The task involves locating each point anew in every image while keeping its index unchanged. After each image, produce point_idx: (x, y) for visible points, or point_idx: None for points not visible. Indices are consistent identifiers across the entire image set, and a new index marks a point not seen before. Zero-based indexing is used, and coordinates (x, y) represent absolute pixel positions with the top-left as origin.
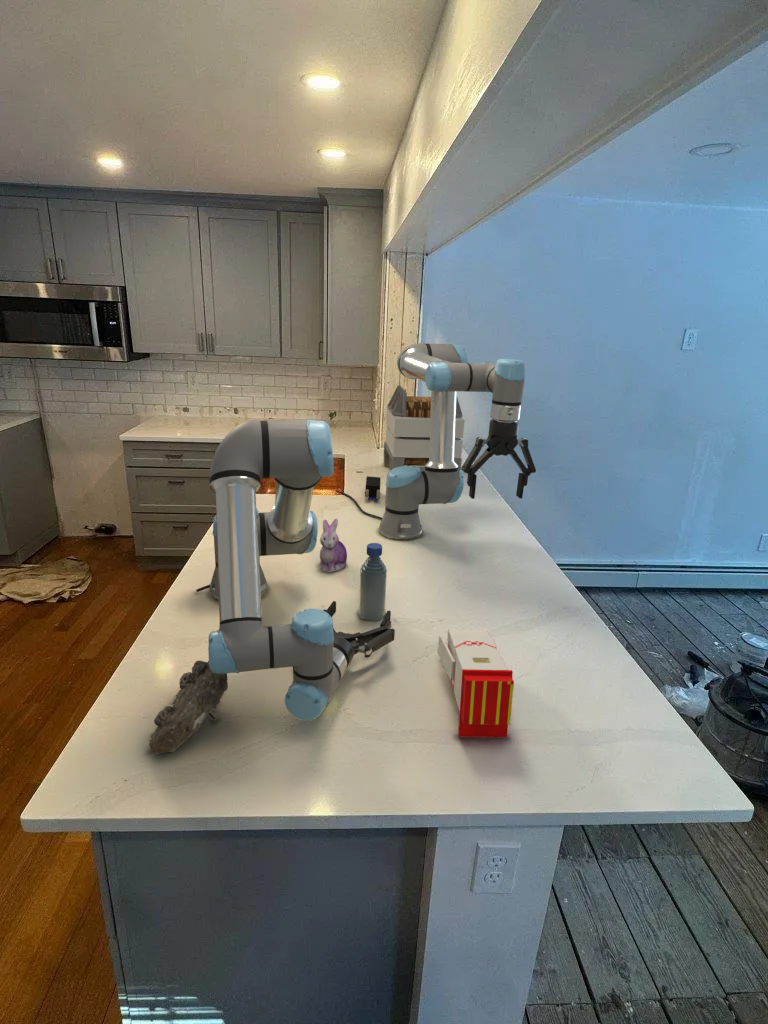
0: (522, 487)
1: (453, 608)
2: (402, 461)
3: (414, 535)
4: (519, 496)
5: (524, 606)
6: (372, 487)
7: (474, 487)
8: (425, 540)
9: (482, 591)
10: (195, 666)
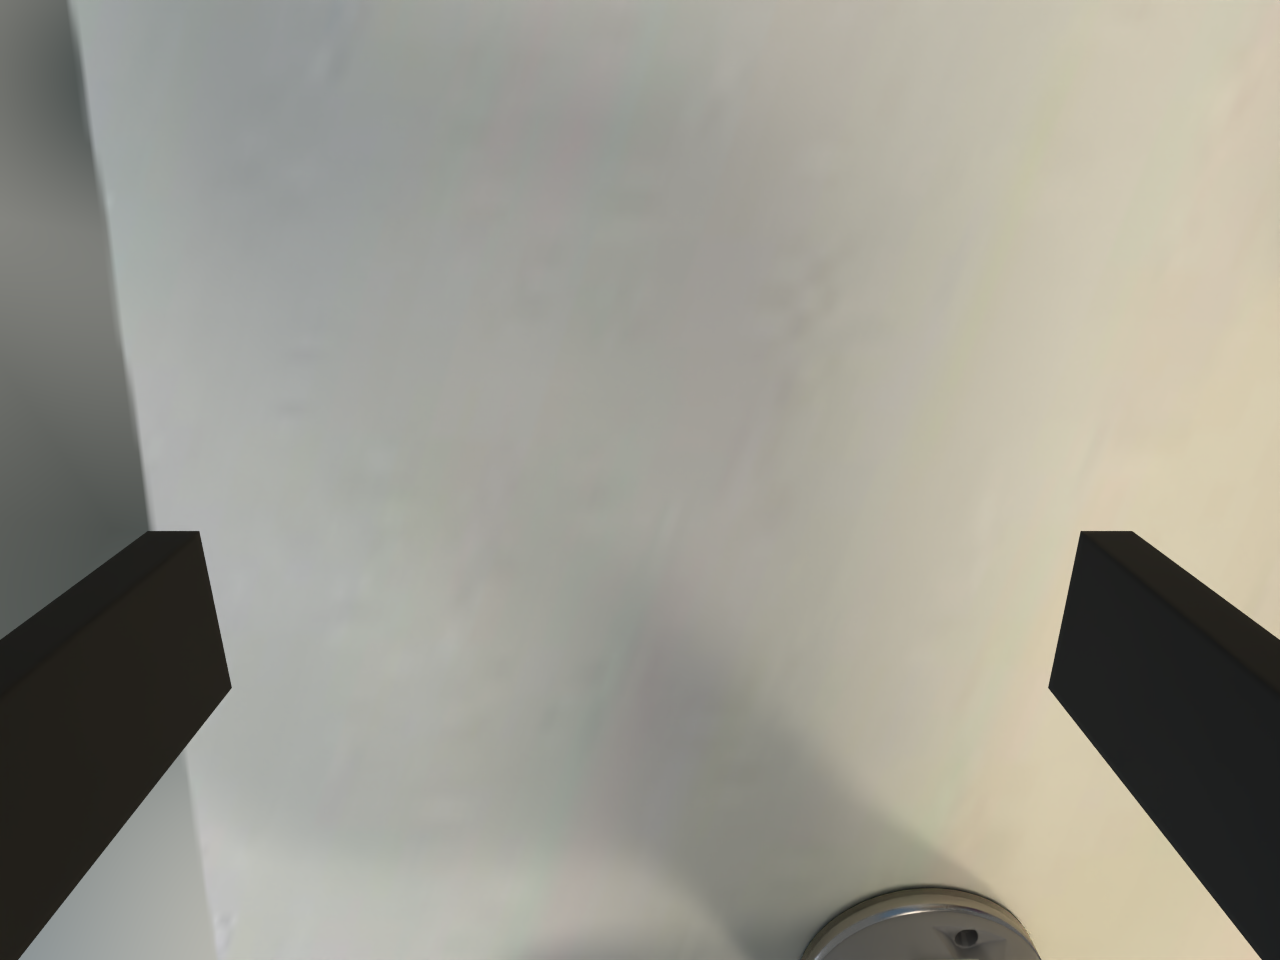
0: (19, 649)
1: (952, 14)
2: None
3: (874, 916)
4: (186, 562)
5: (466, 5)
6: None
7: (1257, 650)
8: (807, 883)
9: (681, 240)
10: None
